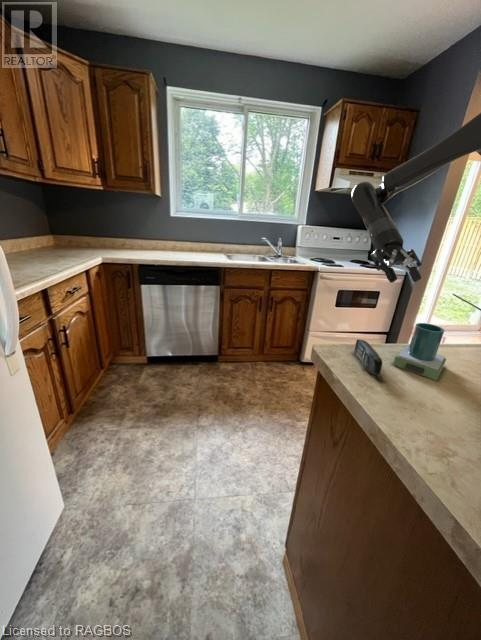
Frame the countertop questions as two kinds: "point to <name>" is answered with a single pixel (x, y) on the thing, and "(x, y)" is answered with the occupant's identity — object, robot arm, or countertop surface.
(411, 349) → the teal cup
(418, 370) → the kitchen scale
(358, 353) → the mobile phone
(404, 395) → the countertop surface
